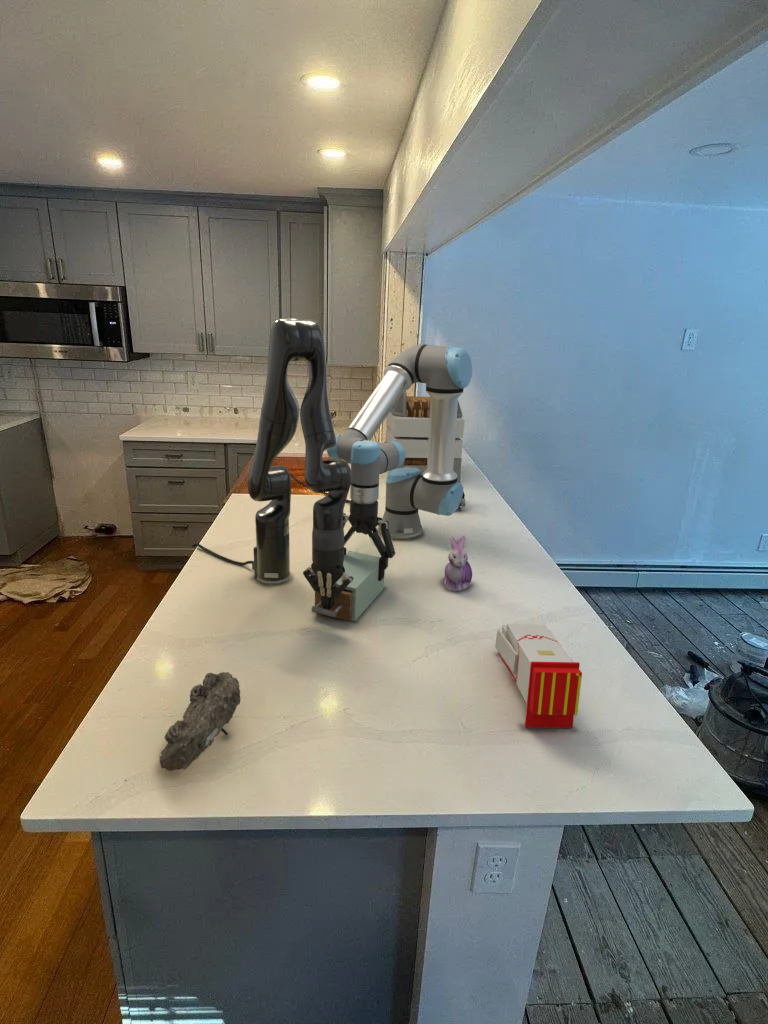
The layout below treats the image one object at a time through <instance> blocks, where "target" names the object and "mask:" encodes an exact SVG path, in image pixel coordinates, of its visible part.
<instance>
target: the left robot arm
mask: <svg viewBox="0 0 768 1024" xmlns="http://www.w3.org/2000/svg"><path fill="white" fill-rule="evenodd" d="M269 334H270V335H269V340H268V341H269V343H268V356H267V371H266V381H265V388H264V393H263V400H262V405H261V409H260V417H259V424H258V432H257V439H256V445H255V448H254V453H253V456H252V460H251V464H250V468H249V472H248V476H247V477H248V478H247V491H248V495H249V497H250V498H251V500H253V501H254V502H257V503H258V502H259V503H260V502H269V501H270V502H269V503H268V504H266V505H265V506H264V507H262V508H260V509H259V510H257V511H256V513H255V517H254V518H255V519H254V521H255V522H254V523H255V544H256V545H255V546H254V547H253V560H247V561H244V562H241V561H236V560H233V559H230V558H228V557H225V556H222V555H220V554H218V553H216V552H214V551H213V550H211V549H208V548H206V547H205V546H203V545H202V544H200V543H198V542H197V543H196V542H195V543H193V544H192V545H191V547H192V548H195V547H198V548H200V549H202V550H203V551H204V552H207V553H208V554H211V555H212V556H214V557H216V558H219V559H221V560H223V561H226V562H228V563H231V564H234V565H238V566H246V565H251V569H252V570H253V571H254V572H253V573H254V574H253V575H254V579H255V580H256V579H257V581H258V582H259V583H261V584H263V585H270V586H275V585H276V586H277V585H282V584H285V583H286V582H288V581H289V580H290V579H291V560H290V558H291V554H290V552H291V551H290V516H291V502H292V501H291V500H292V477H291V476H290V474H291V473H290V472H289V470H288V468H287V467H286V466H285V465H282V464H278V465H277V464H276V465H272V464H273V463H274V461H275V460H276V458H277V457H278V456H279V455H280V453H282V452H283V450H284V449H286V447H287V446H288V445H289V444H290V442H291V441H292V440H293V439H294V437H295V435H296V432H297V428H298V424H299V423H298V422H299V421H300V425H301V431H302V434H303V435H302V436H303V438H304V445H305V451H304V452H305V455H304V457H305V461H304V481H305V484H306V485H307V486H308V488H307V489H309V490H310V491H311V492H312V493H315V494H321V493H323V492H326V493H328V494H327V495H324V497H322V498H320V499H318V500H316V501H315V502H314V503H313V507H312V532H311V560H312V563H311V565H310V567H307V568H306V569H305V570H303V572H302V575H303V576H304V578H305V579H306V581H307V582H308V584H309V585H310V587H311V588H312V589H313V591H314V593H315V592H319V593H320V594H321V605H322V607H323V609H327V610H330V609H331V608H332V607H333V606H334V596H335V597H337V596H338V595H339V594H340V593H341V592H342V591H343V590H344V589H345V588H346V587H347V586H348V585H349V584H350V583H351V582H352V581H353V577H352V576H350V577H349V576H348V575H347V574H346V573H345V568H344V565H343V563H344V547H345V546H344V542H345V540H344V536H345V528H344V529H343V513H344V509H345V505H346V504H347V502H346V499H347V498H348V495H349V493H350V487H351V479H352V473H351V465H350V464H349V463H347V462H346V461H345V460H343V459H326V460H323V455H324V452H325V451H326V452H327V450H328V449H331V448H333V447H334V446H335V445H336V436H335V435H336V432H335V427H334V423H333V418H332V414H331V409H330V401H329V392H328V372H327V362H326V361H327V360H326V350H325V349H326V348H325V339H324V334H323V331H322V327H321V326H320V323H319V322H317V320H315V319H312V318H299V317H298V318H297V317H294V318H293V317H283V318H277V319H276V320H275V321H274V322H273V323H272V327H271V329H270V333H269ZM291 362H306V364H307V368H308V383H307V387H306V390H305V393H304V396H303V400H302V402H301V405H299V402H298V399H297V398H296V396H295V393H294V392H293V390H292V388H291V386H290V383H289V380H288V369H289V365H290V363H291ZM299 418H300V420H299ZM347 500H348V499H347ZM341 577H342V580H341V583H342V584H341V585H340V586H339V588H338V589H336V585H337V581H338V580H339V579H340V578H341Z"/></svg>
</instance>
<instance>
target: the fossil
mask: <svg viewBox="0 0 768 1024" xmlns="http://www.w3.org/2000/svg"><path fill="white" fill-rule="evenodd" d="M189 701H190V703H189V704H188V705H187V707H186V709H185V712H184V713H183V716H182V718H183V719H182V720H176V721H175V723H174V724H173V725H170V726H169V728H168V729H167V731H166V733H165V735H164V740H165V741H166V742H167V743H166V745H165V746H164V748H163V749H161V752H160V756H159V764H160V768H161V769H165V770H166V771H167V772H172V771H179V770H184V771H185V770H186V769H187V768H189V766H191V764H193V763H194V761H196V760H197V759H198V758H199V757H200V756H201V755H202V754H203V753H204V752H205V751H206V750H207V749H208V748H209V747H211V746H212V744H213V743H214V740H215V738H217V737H218V736H219V735H220V733H221V732H222V733H223V734H224V736H227V735H229V732H228V731H227V730H226V729H225V728H224V727H225V725H227V724H229V723H230V722H231V720H232V718H233V717H234V714H235V712H236V710H237V707H238V706H240V704H241V689H240V681H239V680H238V678H237V677H234V676H233V674H231V673H230V672H228V671H222V672H219V673H213V672H208V673H206V674H205V676H204V678H203V680H202V684H200V683H199V684H196V685H194V686H193V687H192V688H191V689H190V691H189Z"/></svg>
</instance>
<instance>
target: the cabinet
mask: <svg viewBox="0 0 768 1024" xmlns="http://www.w3.org/2000/svg"><path fill="white" fill-rule="evenodd" d="M380 557H381V556H377V555H372V554H368V553H362V552H358V551H352V550H349V551H347V552H346V554H345V555H344V563H343V565H344V568H345V573H346V574H347V575H348V576H349V577H350V576H352V577H353V581H352V582H351V583H350V584H349V585H348V586H347V587H346V588H345V589H346V590H350V591H352V619H351V620H350V622H356V621H357V620H358V619H359V618H360V616H361V615H362V614H363V613H364V612H365V611H366V609H368V607H369V606H370V605H371V604H372V602H373V601H374V600H375V599H376V598H377V597H378V596H379V594H380V593H381V592H382V591H383V590H384V589H385V577H386V576H385V574H386V571H385V572H384V578H383V579H382V580H381V581H378V572H379V558H380ZM341 580H342V577H341V578H340V579H339V580H338V581H337V585H336V587H337V588H339V586H340V585H341V584H342V583H341Z"/></svg>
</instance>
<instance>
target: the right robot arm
mask: <svg viewBox="0 0 768 1024" xmlns="http://www.w3.org/2000/svg"><path fill="white" fill-rule="evenodd" d="M472 376H473V362H472V359H471V356H470V354H469V352H468V351H467V350H466V349H465V348H462V347H458V346H453V345H436V344H426V343H425V344H424V343H419V344H415V345H412V346H409V347H407V348H406V349H404V350H403V351H400V352H399V354H397V355H396V356H394V358H392V360H391V361H390V362H389V363H388V364H387V366H386V367H385V368H384V371H383V376H382V379H381V380H380V381H379V382H378V384H377V386H376V387H375V388H374V390H373V391H372V392H371V394H370V395H369V397H368V399H367V400H366V401H365V402H364V404H363V405H362V407H361V408H360V409H359V411H358V413H357V414H356V415H355V417H354V418H353V420H352V421H351V422H350V424H349V425H348V426H347V428H346V429H345V431H344V432H343V433H342V434H340V433H339V434H336V433H335V436H336V445H335V446H334V447H333V448H331V449H328V450H326V453H327V456H328V457H329V458H330V460H332V459H343V460H345V461H346V462H347V463H348V465H350V469H351V473H352V479H351V485H350V489H349V498H350V500H349V499H346V503H348V504H349V515H348V514H346V513H345V512H343V529H344V530H345V527H346V524H347V522H349V524H350V525H351V526H350V528H349V529H348V531H347V532H346V533H345V534H344V540H345V542H344V555H345V554H347V547H345V545H346V544H347V543H348V541H349V540H350V539H351V538H352V536H353V535H354V533H355V532H356V534H363V535H368V537H369V539H371V541H372V543H373V544H374V546H375V548H376V549H377V551H378V553H379V555H380V556H379V557H380V558H379V572H378V581H381V580H382V579H383V578H384V579H385V577H384V572H385V573H386V569H388V567H389V559H392V558H394V556H395V555H396V550H395V547H394V544H393V540H395V541H410V540H415V539H418V538H420V537H421V536H422V535H423V525H422V524H421V518H420V515H419V510H420V511H423V512H426V513H431V514H435V515H437V516H445V517H450V516H452V515H453V514H454V513H456V511H457V509H458V506H459V504H460V502H461V499H462V496H463V491H464V485H463V484H462V483H461V481H460V482H457V474H456V473H455V472H454V471H453V466H454V450H455V435H456V420H457V405H458V402H459V397H460V396H461V395H462V394H463V393H464V389H466V388H467V387H468V386H469V385H470V383H471V379H472ZM416 383H420V384H425V392H426V393H427V394H428V395H429V397H430V417H429V438H428V459H427V466H426V469H425V470H424V471H422V470H421V468H419V467H412V466H411V467H408V466H407V467H404V468H398V469H396V468H397V467H399V466H401V465H402V464H403V462H404V460H405V450H404V448H403V447H402V445H401V444H399V443H398V442H395V441H392V442H386V441H385V442H386V443H384V442H381V441H375V440H372V439H373V437H374V436H375V434H376V433H377V431H378V430H379V429H380V427H381V425H383V423H384V422H385V421H386V417H387V415H388V414H389V412H390V411H391V409H392V408H393V406H394V405H395V403H396V402H397V400H398V399H399V397H400V396H401V394H402V393H403V392H404V391H405V390H406V391H408V390H410V389H411V387H412V386H413V385H414V384H416ZM390 470H391V471H390ZM385 473H387V475H386V480H385V504H384V505H385V507H384V508H385V509H384V513H383V515H382V517H380V516H378V514H379V501H378V500H379V497H380V496H379V493H380V475H382V474H385ZM289 474H290V478H291V479H293V480H294V481H295V482H297V483H298V484H300V485H302V486H303V487H305V488H306V489H309V488H308V486H307V484H306V483H304V482H302V481H301V480H299V479H297V478H296V477H295V476H294V475H293V474H292V473H289ZM320 494H321V495H324V496H326V495H327V494H328V492H323V493H320ZM377 527H378V528H377ZM380 535H381V536H380ZM381 537H382V538H381Z"/></svg>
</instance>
